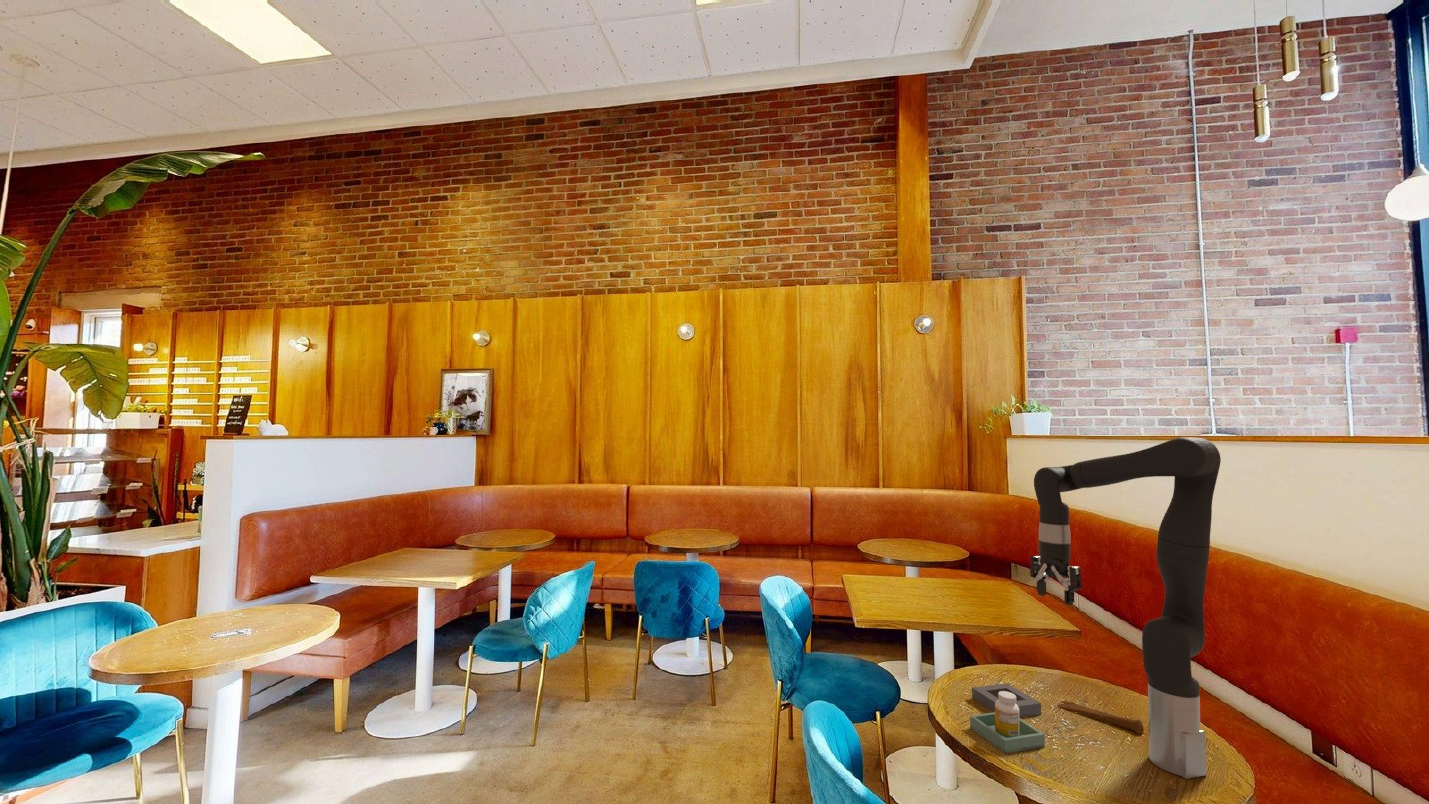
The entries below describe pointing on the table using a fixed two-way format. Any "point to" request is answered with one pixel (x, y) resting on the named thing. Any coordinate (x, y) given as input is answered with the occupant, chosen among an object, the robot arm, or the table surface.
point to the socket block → (990, 692)
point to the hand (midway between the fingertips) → (1055, 599)
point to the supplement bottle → (1006, 715)
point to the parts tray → (1024, 741)
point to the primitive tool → (1104, 716)
